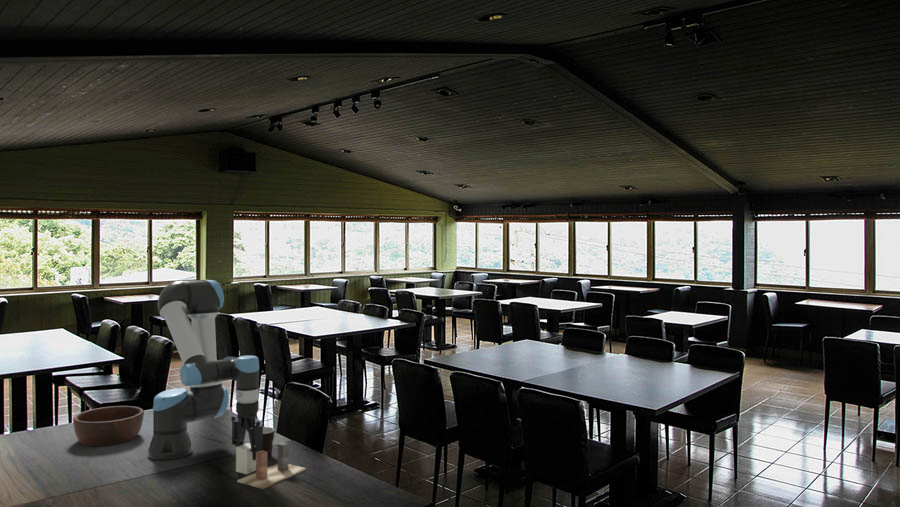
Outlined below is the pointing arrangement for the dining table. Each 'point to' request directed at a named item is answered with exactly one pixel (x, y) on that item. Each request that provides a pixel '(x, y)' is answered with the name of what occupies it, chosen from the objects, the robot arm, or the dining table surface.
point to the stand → (271, 469)
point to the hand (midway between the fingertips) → (247, 467)
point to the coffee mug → (268, 440)
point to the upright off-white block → (243, 459)
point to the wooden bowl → (108, 425)
